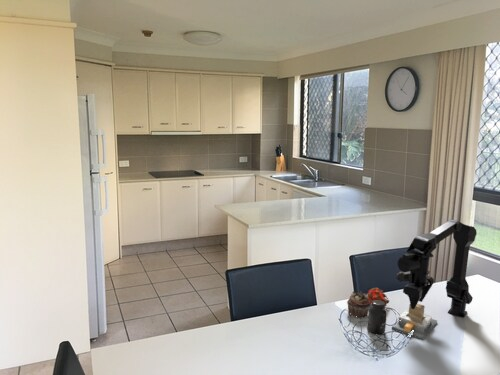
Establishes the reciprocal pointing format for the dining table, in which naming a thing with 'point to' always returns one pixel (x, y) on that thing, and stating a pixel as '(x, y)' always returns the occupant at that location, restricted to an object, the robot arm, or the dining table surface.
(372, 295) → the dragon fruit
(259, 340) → the dining table surface
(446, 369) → the dining table surface
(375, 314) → the supplement bottle
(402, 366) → the dining table surface
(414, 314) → the oak wedge
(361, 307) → the cupcake
